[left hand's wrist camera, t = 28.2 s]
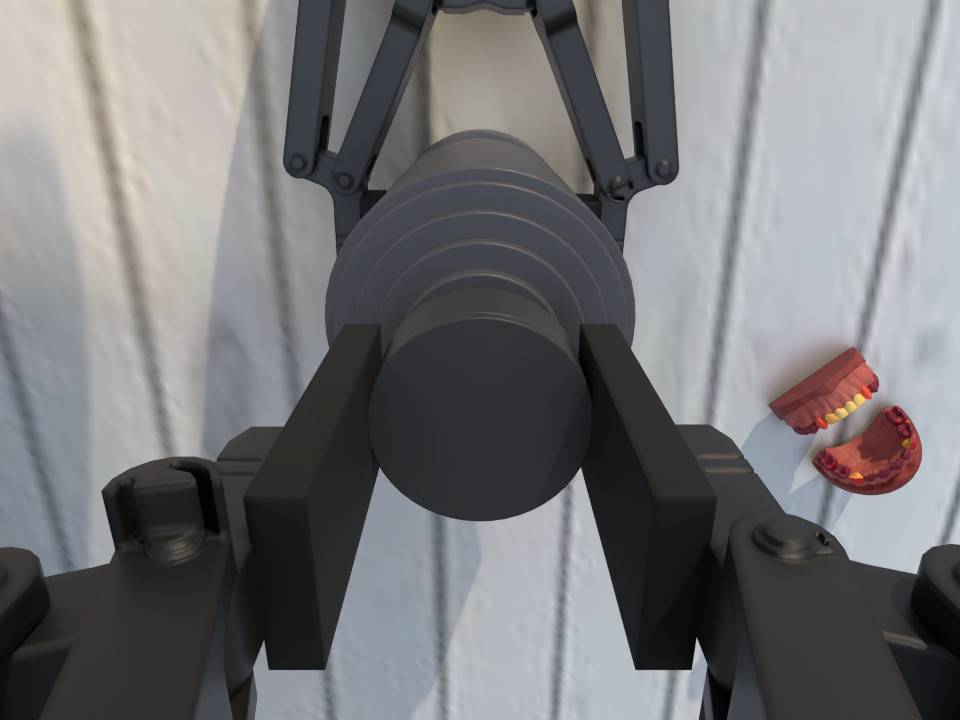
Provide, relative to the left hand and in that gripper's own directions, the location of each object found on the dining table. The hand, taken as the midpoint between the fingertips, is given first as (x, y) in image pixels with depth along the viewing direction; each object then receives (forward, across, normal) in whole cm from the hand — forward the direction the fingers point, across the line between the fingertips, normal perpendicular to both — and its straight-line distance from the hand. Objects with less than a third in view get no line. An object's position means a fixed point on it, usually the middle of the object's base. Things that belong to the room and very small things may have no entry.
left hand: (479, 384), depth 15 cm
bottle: (+22, 0, 0) cm, 22 cm away
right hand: (+16, 0, -5) cm, 16 cm away
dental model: (+22, +20, -11) cm, 32 cm away
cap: (-2, 0, 0) cm, 2 cm away
